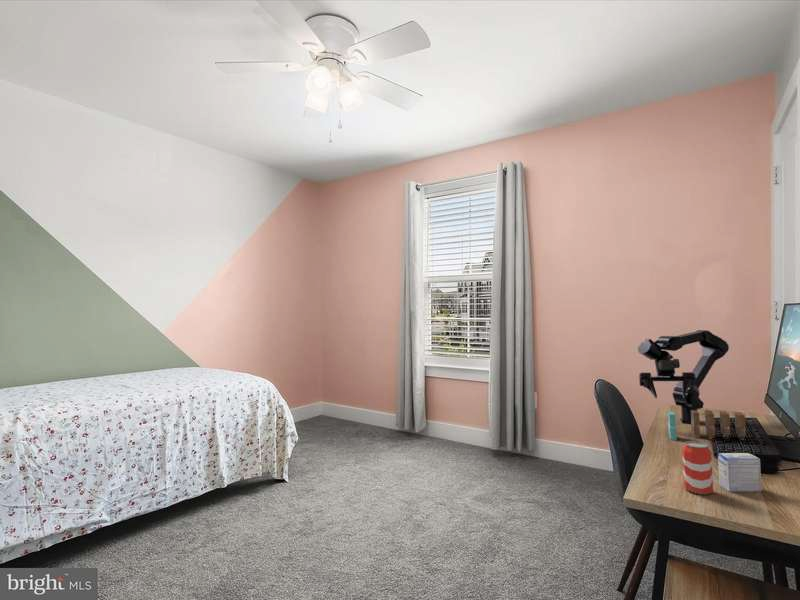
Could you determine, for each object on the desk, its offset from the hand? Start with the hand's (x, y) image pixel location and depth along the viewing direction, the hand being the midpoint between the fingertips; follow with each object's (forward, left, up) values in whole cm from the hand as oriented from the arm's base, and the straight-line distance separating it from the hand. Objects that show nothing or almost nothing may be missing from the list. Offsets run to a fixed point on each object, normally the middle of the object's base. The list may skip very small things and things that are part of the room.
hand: (670, 397), depth 173 cm
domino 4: (+2, +21, -13) cm, 25 cm away
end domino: (+7, -1, -13) cm, 15 cm away
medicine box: (+54, +9, -13) cm, 57 cm away
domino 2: (+2, +12, -13) cm, 18 cm away
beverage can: (+59, -1, -13) cm, 61 cm away
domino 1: (+2, +7, -13) cm, 15 cm away
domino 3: (+2, +16, -13) cm, 21 cm away
